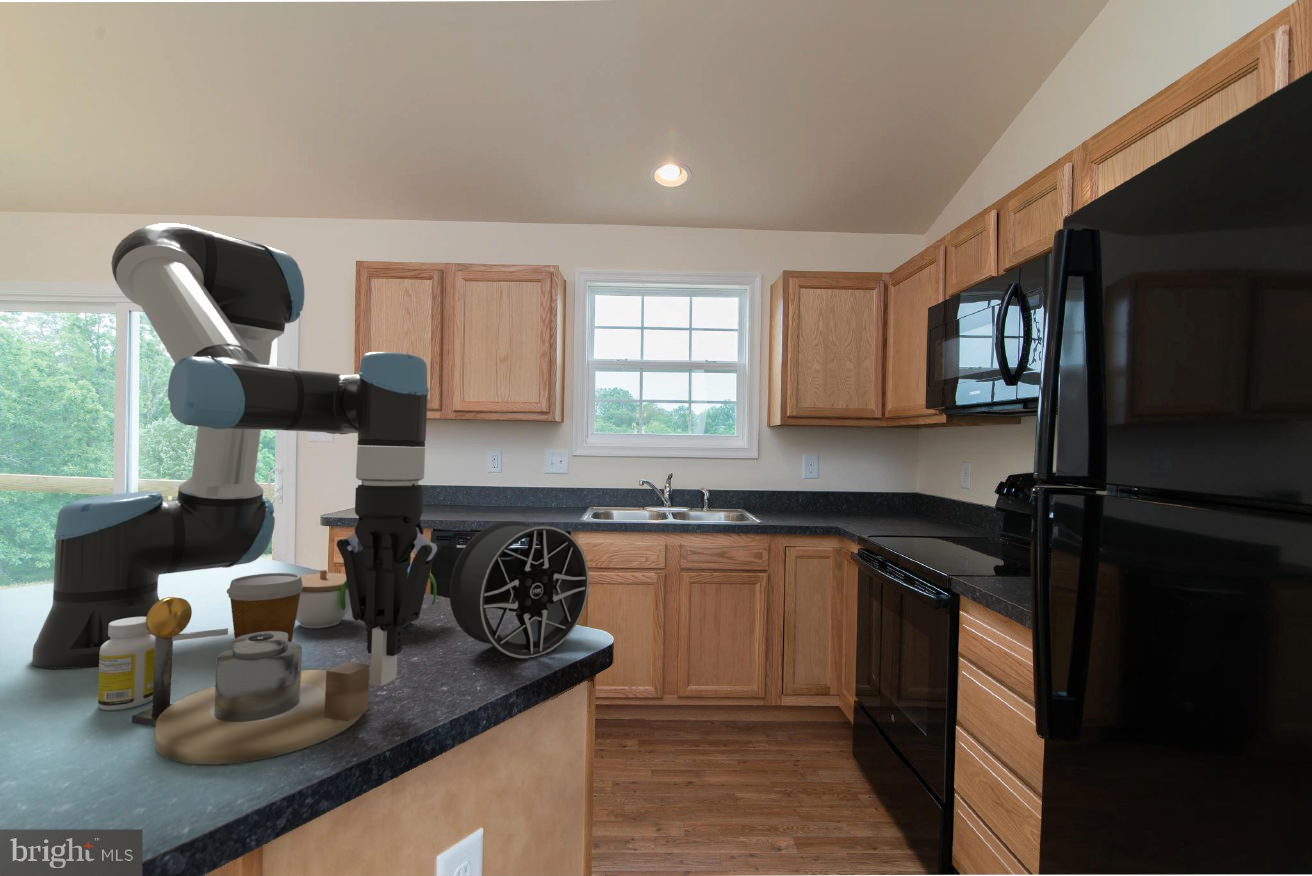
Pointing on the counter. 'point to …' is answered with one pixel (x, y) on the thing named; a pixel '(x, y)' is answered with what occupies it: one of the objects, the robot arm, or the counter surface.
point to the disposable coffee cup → (265, 603)
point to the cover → (257, 677)
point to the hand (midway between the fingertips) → (383, 681)
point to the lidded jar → (322, 600)
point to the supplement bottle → (126, 665)
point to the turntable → (264, 720)
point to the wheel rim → (521, 588)
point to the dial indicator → (167, 650)
